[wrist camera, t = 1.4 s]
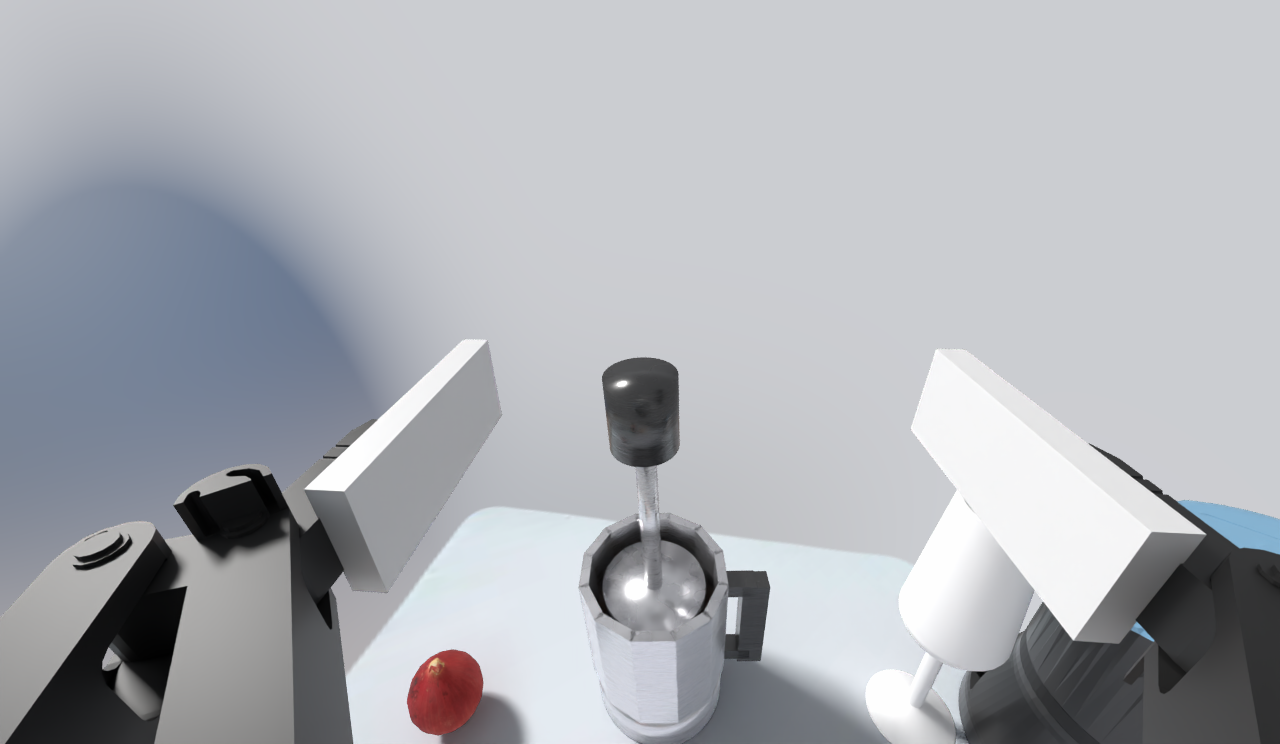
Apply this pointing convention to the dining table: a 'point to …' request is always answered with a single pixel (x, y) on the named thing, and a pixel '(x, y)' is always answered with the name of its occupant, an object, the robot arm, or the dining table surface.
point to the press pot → (670, 638)
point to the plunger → (648, 500)
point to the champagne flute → (950, 624)
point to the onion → (445, 692)
